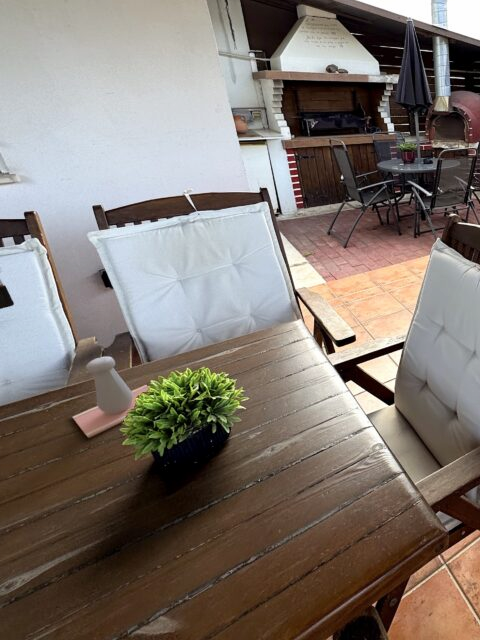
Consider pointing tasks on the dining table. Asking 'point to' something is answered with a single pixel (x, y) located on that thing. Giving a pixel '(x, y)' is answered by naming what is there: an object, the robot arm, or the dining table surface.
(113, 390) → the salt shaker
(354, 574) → the dining table surface
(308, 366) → the dining table surface
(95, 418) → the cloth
